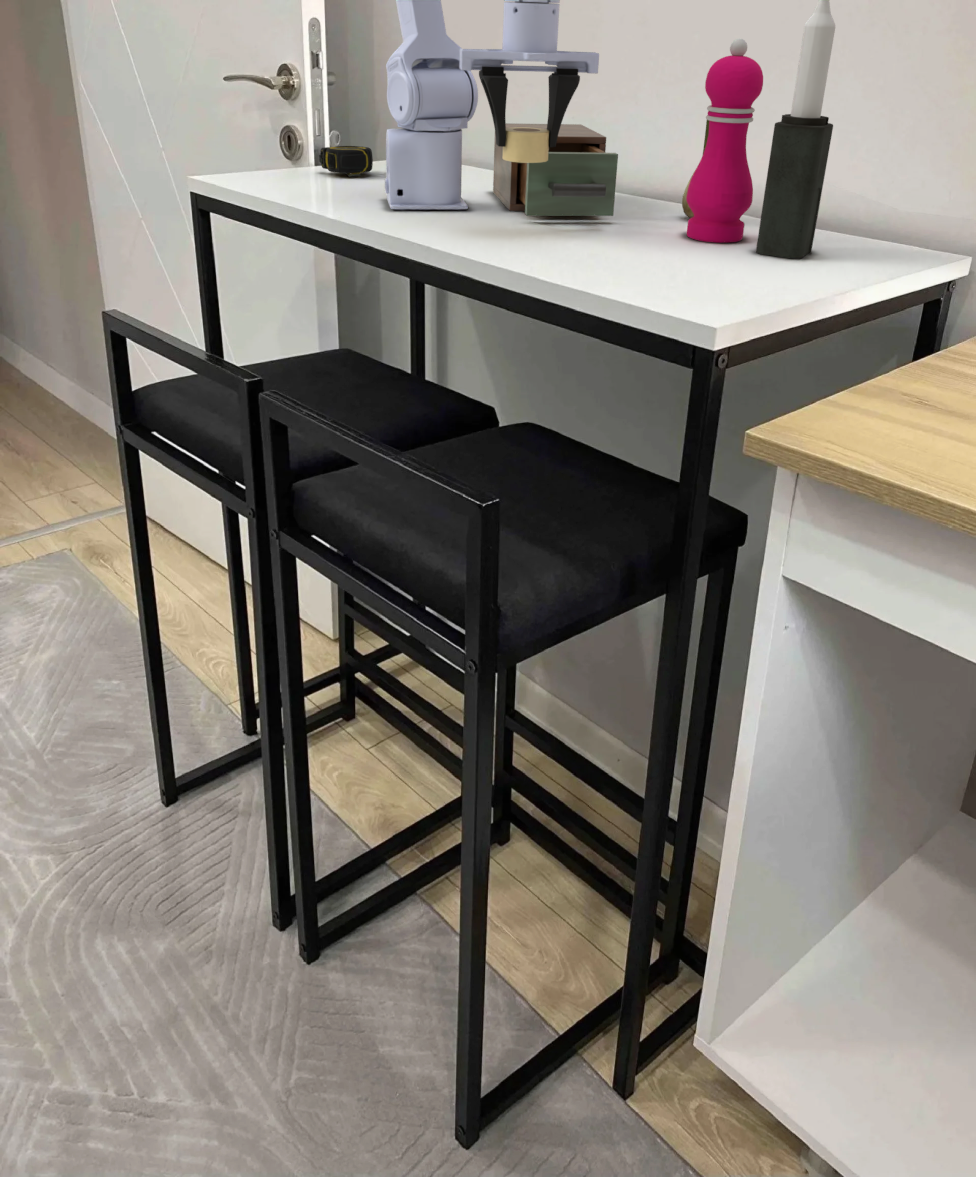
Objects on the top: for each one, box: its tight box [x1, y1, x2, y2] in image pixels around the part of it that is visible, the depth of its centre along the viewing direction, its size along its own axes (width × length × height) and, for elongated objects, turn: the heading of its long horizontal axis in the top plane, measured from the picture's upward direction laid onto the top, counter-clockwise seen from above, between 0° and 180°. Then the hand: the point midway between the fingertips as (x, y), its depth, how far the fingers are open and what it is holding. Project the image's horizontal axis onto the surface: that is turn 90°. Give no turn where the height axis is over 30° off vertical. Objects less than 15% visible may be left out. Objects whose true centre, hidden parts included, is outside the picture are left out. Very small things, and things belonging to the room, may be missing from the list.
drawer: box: [516, 143, 619, 217], centre depth 126 cm, size 17×10×7 cm, turn 8°
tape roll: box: [502, 127, 550, 163], centre depth 115 cm, size 5×5×3 cm
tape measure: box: [318, 145, 374, 177], centre depth 151 cm, size 7×7×4 cm
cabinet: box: [492, 123, 607, 212], centre depth 135 cm, size 14×12×9 cm
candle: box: [755, 0, 836, 260], centre depth 107 cm, size 5×5×25 cm
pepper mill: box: [686, 38, 764, 244], centre depth 115 cm, size 7×7×20 cm
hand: (525, 145), depth 115 cm, fingers closed on tape roll, 5 cm apart
